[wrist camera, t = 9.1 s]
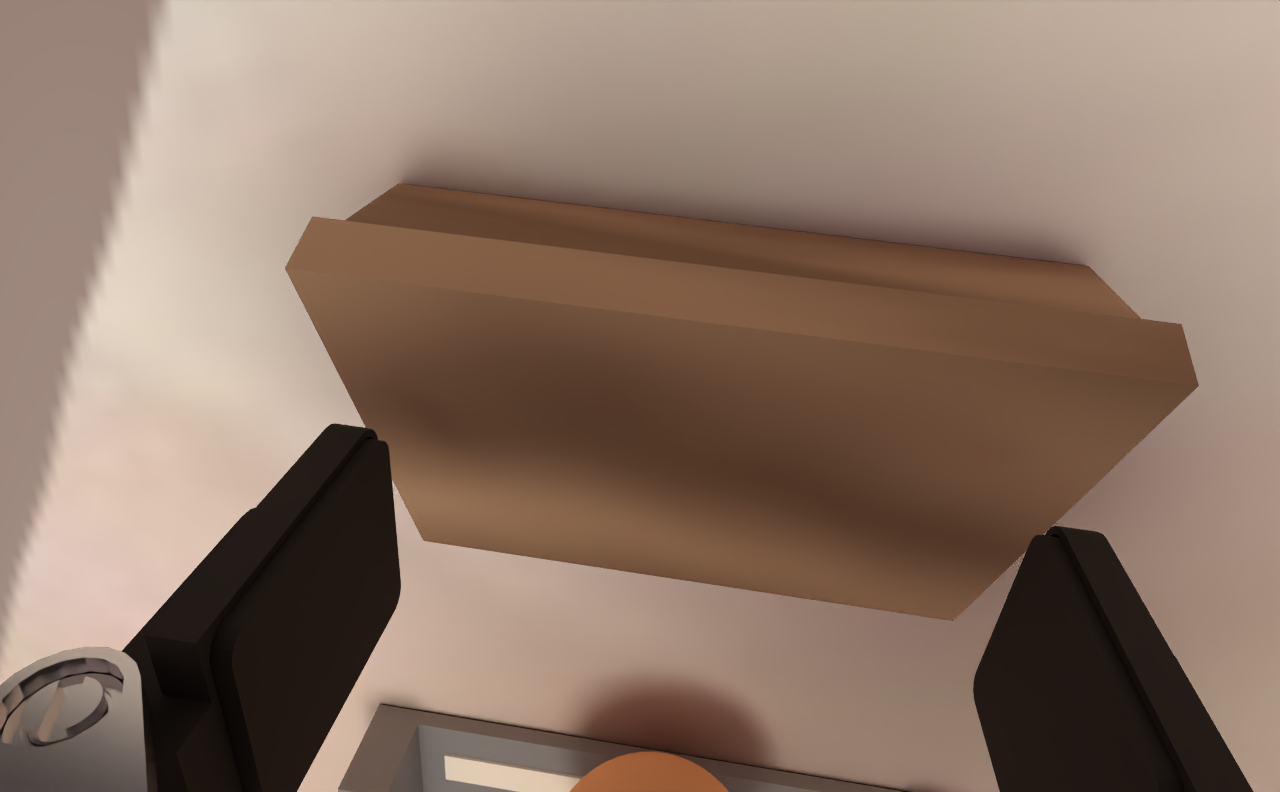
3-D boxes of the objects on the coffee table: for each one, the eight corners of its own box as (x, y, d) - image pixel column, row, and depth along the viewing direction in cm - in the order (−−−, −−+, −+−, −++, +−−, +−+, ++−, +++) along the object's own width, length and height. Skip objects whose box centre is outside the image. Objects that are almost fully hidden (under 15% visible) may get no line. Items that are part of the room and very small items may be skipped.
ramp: (944, 592, 19) (999, 790, 14) (437, 517, 19) (345, 682, 15) (1076, 228, 14) (1214, 354, 10) (417, 151, 15) (280, 237, 11)
